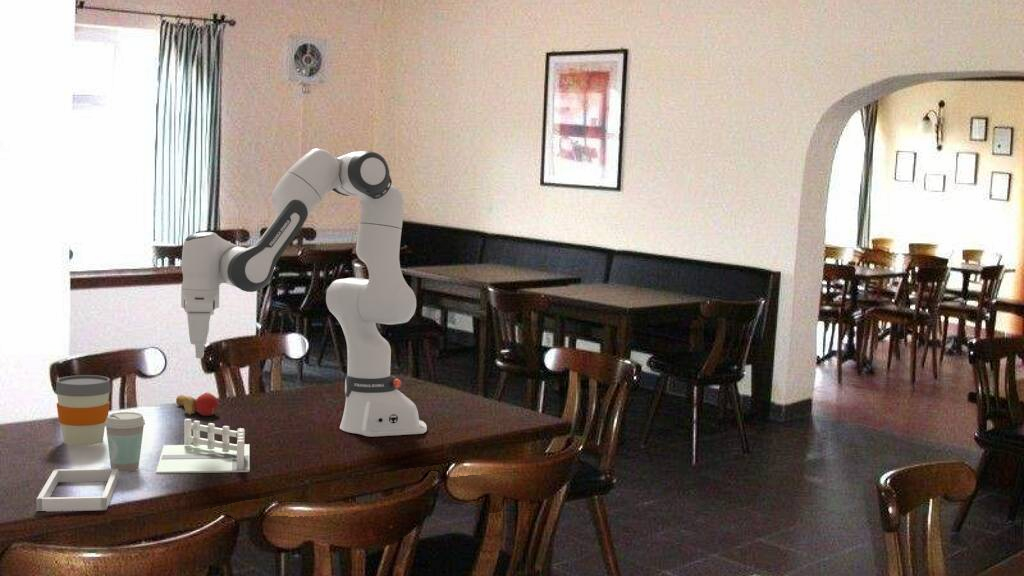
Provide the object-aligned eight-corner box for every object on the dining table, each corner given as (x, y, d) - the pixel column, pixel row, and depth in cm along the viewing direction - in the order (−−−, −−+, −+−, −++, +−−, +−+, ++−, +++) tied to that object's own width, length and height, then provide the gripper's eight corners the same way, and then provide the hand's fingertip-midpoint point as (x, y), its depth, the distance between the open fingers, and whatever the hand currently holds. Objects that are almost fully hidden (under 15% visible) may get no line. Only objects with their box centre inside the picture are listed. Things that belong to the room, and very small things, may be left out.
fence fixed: (237, 457, 282) (237, 430, 281) (244, 457, 282) (244, 430, 281) (236, 469, 271) (236, 441, 270) (243, 469, 271) (244, 441, 270)
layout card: (249, 445, 295) (249, 443, 295) (249, 471, 271) (249, 469, 271) (163, 446, 290) (163, 444, 290) (156, 473, 267) (156, 471, 267)
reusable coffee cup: (121, 438, 296) (121, 378, 295) (87, 450, 285) (88, 386, 283) (78, 433, 301) (78, 373, 299) (43, 443, 289) (43, 381, 287)
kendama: (165, 412, 333) (197, 415, 320) (168, 389, 334) (199, 391, 320) (191, 414, 338) (223, 417, 325) (194, 391, 339) (226, 393, 325)
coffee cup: (109, 463, 274) (109, 411, 272) (148, 464, 275) (148, 411, 273) (100, 473, 265) (100, 419, 264) (140, 474, 266) (140, 420, 265)
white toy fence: (246, 454, 283) (246, 429, 283) (241, 455, 282) (241, 430, 281) (187, 443, 292) (187, 418, 291) (182, 444, 290) (182, 419, 289)
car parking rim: (118, 479, 261) (118, 468, 261) (106, 510, 240) (106, 497, 239) (54, 480, 258) (54, 469, 258) (36, 511, 237) (36, 499, 237)
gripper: (188, 294, 300) (188, 349, 302) (184, 305, 281) (183, 364, 282) (215, 294, 302) (214, 350, 303) (212, 305, 282) (212, 364, 283)
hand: (199, 357), depth 293 cm, fingers closed
